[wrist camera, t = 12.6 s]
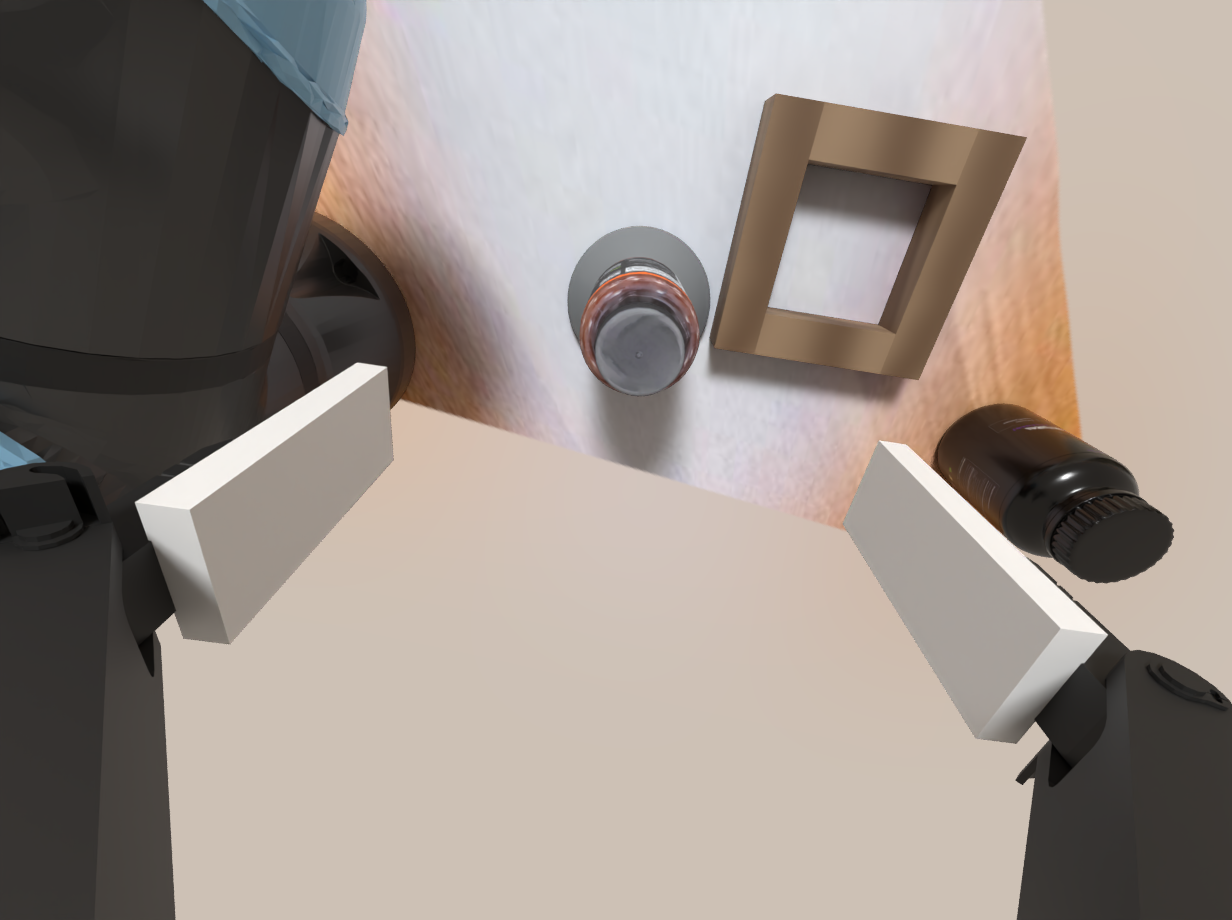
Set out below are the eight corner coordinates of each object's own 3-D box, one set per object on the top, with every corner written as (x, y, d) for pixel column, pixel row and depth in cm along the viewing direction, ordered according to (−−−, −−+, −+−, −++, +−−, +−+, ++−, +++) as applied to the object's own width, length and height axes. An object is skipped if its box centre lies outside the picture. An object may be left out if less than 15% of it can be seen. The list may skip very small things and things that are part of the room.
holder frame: (709, 337, 34) (714, 348, 31) (764, 101, 28) (775, 93, 25) (900, 367, 34) (918, 380, 32) (996, 141, 28) (1026, 137, 26)
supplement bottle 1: (654, 367, 34) (661, 440, 24) (575, 323, 33) (547, 380, 23) (704, 286, 32) (734, 330, 22) (620, 235, 30) (611, 256, 20)
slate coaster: (562, 359, 35) (561, 362, 34) (576, 214, 31) (575, 215, 30) (692, 379, 35) (693, 382, 35) (724, 238, 31) (725, 239, 30)
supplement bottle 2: (1029, 383, 34) (1203, 470, 24) (1041, 464, 37) (1202, 573, 26) (923, 424, 36) (1042, 522, 25) (942, 499, 39) (1057, 615, 28)
